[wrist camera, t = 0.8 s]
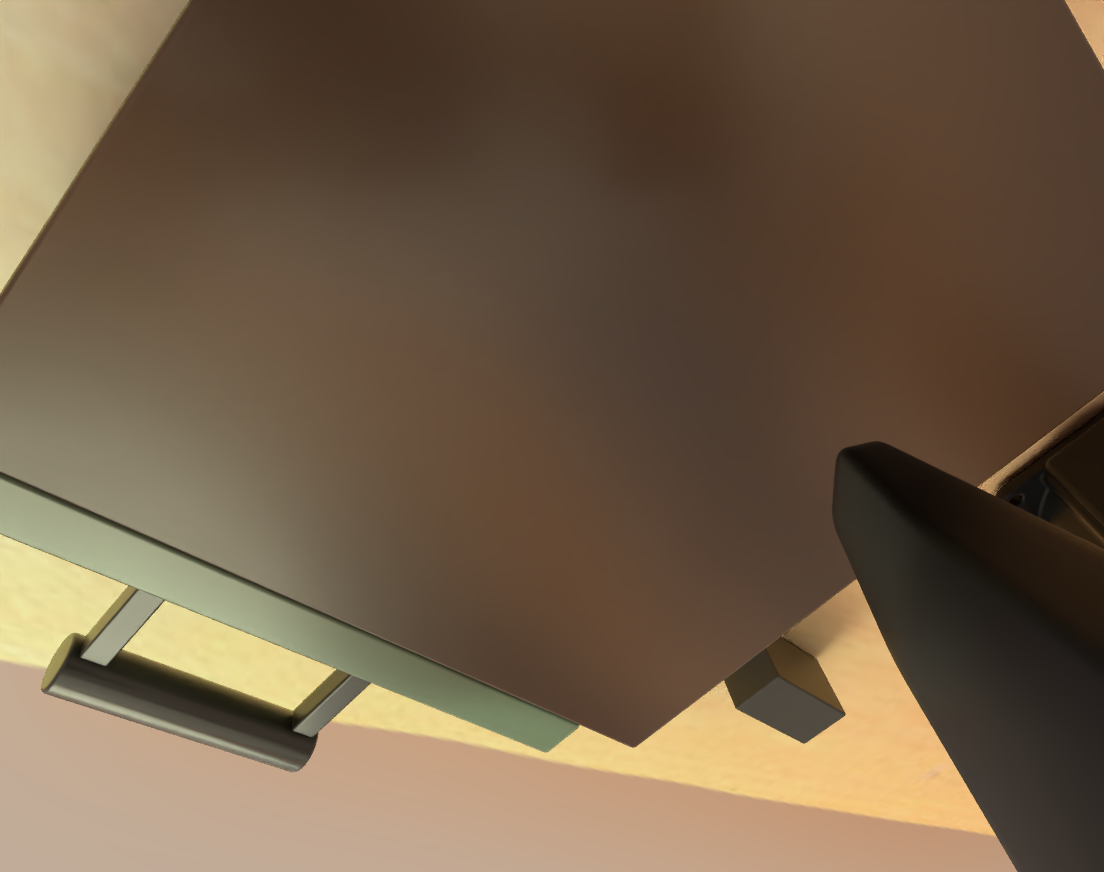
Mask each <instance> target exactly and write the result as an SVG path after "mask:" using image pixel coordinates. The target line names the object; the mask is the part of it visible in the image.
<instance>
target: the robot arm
mask: <svg viewBox="0 0 1104 872" xmlns="http://www.w3.org/2000/svg"><path fill="white" fill-rule="evenodd" d="M832 518H833V523H834V526H835V530H836V532H837V535H838V537H839V539H840V541H841V544H842V546H843V548H844V550H845V553H846V555H847V557H848V559H849V562H850V564H851V566H852V568H853V571H854V573H855V575H856V577H857V580H858V582H859V584H860V587H861V589H862V591H863V593H864V596H865V598H866V600H867V602H868V605H869V607H870V609H871V611H872V614H873V616H874V618H875V620H876V623H877V625H878V627H879V629H880V632H881V634H882V636H883V638H884V641H885V643H886V645H887V647H888V649H889V651H890V653H891V655H892V657H893V659H894V661H895V663H896V665H897V667H898V669H899V671H900V672H901V674H902V676H903V678H904V680H905V681H906V683H907V685H908V687H909V688H910V690H911V692H912V693H913V695H914V697H915V698H916V700H917V702H918V703H919V705H920V707H921V709H922V710H923V712H924V714H925V715H926V717H927V719H928V720H929V722H930V724H931V726H932V727H933V729H934V731H935V732H936V734H937V736H938V737H939V739H940V741H941V743H942V744H943V746H944V748H945V749H946V751H947V753H948V754H949V756H950V758H951V759H952V761H953V763H954V765H955V766H956V768H957V770H958V771H959V773H960V775H961V776H962V778H963V780H964V782H965V783H966V785H967V787H968V788H969V790H970V792H971V793H972V795H973V797H974V799H975V800H976V802H977V804H978V805H979V807H980V809H981V810H982V812H983V814H984V816H985V817H986V819H987V821H988V822H989V824H990V826H991V827H992V829H993V831H994V832H995V834H996V836H997V838H998V839H999V841H1000V843H1001V844H1002V846H1003V848H1004V849H1005V851H1006V853H1007V855H1008V856H1009V858H1010V860H1011V861H1012V863H1013V865H1014V866H1015V868H1016V870H1017V871H1018V872H1104V411H1103V412H1101V413H1100V414H1099V415H1097V416H1096V417H1095V418H1093V419H1092V420H1091V421H1089V422H1088V423H1087V424H1085V425H1084V426H1083V427H1081V428H1080V429H1079V430H1077V431H1076V432H1075V433H1074V434H1072V435H1071V436H1070V437H1068V438H1067V439H1066V440H1064V441H1063V442H1062V443H1060V444H1059V445H1058V446H1056V447H1055V448H1054V449H1052V450H1051V451H1050V452H1048V453H1047V454H1046V455H1044V456H1043V457H1042V458H1040V459H1039V460H1038V461H1036V462H1035V463H1034V464H1032V465H1031V466H1030V467H1028V468H1027V469H1026V470H1024V471H1023V472H1022V473H1020V474H1019V475H1018V476H1016V477H1015V478H1014V479H1012V480H1011V481H1010V482H1008V483H1007V484H1006V485H1004V486H1003V487H1002V488H1001V489H1000V490H999V491H998V492H997V494H996V496H994V495H992V494H990V493H988V492H985V491H983V490H981V489H979V488H977V487H975V486H973V485H971V484H969V483H967V482H965V481H963V480H961V479H959V478H957V477H955V476H953V475H951V474H949V473H947V472H944V471H942V470H940V469H938V468H936V467H934V466H932V465H930V464H928V463H926V462H924V461H922V460H920V459H918V458H916V457H914V456H912V455H910V454H908V453H905V452H903V451H901V450H899V449H897V448H895V447H893V446H891V445H889V444H887V443H884V442H881V441H872V442H868V443H863V444H859V445H854V446H850V447H846V448H844V449H842V450H841V451H840V452H839V453H838V455H837V458H836V464H835V476H834V488H833V500H832Z"/></svg>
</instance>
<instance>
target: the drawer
mask: <svg viewBox="0 0 1104 872" xmlns="http://www.w3.org/2000/svg"><path fill="white" fill-rule="evenodd" d="M0 534H1V535H4V536H6V537H9V538H11V539H14V540H16V541H19V542H21V543H24V544H26V545H29V546H31V547H34V548H36V549H39V550H41V551H44V552H46V553H49V554H51V555H54V556H56V557H59V558H61V559H64V560H66V561H69V562H71V563H73V564H76V565H78V566H81V567H83V568H86V569H88V570H91V571H93V572H96V573H98V574H101V575H103V576H106V577H108V578H111V579H113V580H116V581H118V582H121V583H123V584H126V585H128V587H127V588H126V589H125V591H124V592H123V593H122V594H121V595H120V597H119V598H118V599H117V600H116V601H115V602H114V604H113V605H112V606H111V607H110V608H109V609H108V611H107V612H106V613H105V614H104V615H103V617H102V618H101V619H100V620H99V621H98V622H97V624H96V625H95V626H94V627H93V628H92V629H91V631H90V632H89V633H88V634H87V635H86V636H84V635H81V634H78V633H72V634H70V635H69V636H68V637H67V638H66V639H65V640H64V641H63V643H62V644H61V645H60V647H59V648H58V650H57V651H56V653H55V655H54V656H53V658H52V660H51V662H50V664H49V666H48V668H47V670H46V672H45V675H44V678H43V681H42V686H41V690H42V692H44V693H45V694H48V695H51V696H54V697H57V698H60V699H64V700H67V701H70V702H73V703H76V704H79V705H83V706H86V707H89V708H92V709H95V710H98V711H101V712H105V713H108V714H111V715H114V716H117V717H120V718H123V719H126V720H129V721H133V722H136V723H139V724H142V725H145V726H148V727H151V728H155V729H158V730H161V731H164V732H167V733H170V734H173V735H177V736H180V737H183V738H186V739H189V740H192V741H195V742H199V743H202V744H205V745H208V746H211V747H214V748H218V749H221V750H224V751H227V752H230V753H233V754H236V755H240V756H242V757H246V758H249V759H252V760H255V761H258V762H262V763H265V764H268V765H271V766H274V767H278V768H280V769H283V770H286V771H290V772H296V771H299V770H300V769H301V768H302V767H304V766H305V764H306V763H307V762H308V760H309V759H310V757H311V755H312V753H313V751H314V748H315V746H316V742H317V738H318V732H319V731H320V730H321V729H322V728H323V727H324V726H325V725H326V724H328V723H329V722H330V721H331V720H332V719H333V718H334V717H335V716H336V715H337V714H338V713H339V712H340V711H341V710H343V709H344V708H345V707H346V706H347V705H348V704H349V703H350V702H351V701H352V700H353V699H354V698H355V697H357V696H358V695H359V694H360V693H361V692H362V691H363V690H364V689H365V688H366V687H367V686H368V685H369V684H370V683H373V684H375V685H378V686H380V687H383V688H385V689H388V690H390V691H393V692H395V693H398V694H400V695H403V696H405V697H408V698H410V699H413V700H415V701H418V702H420V703H423V704H425V705H428V706H430V707H433V708H435V709H438V710H440V711H443V712H445V713H448V714H450V715H453V716H455V717H458V718H460V719H463V720H465V721H468V722H470V723H473V724H475V725H478V726H480V727H483V728H485V729H488V730H490V731H493V732H495V733H498V734H500V735H503V736H505V737H508V738H510V739H513V740H515V741H518V742H520V743H523V744H525V745H528V746H530V747H533V748H535V749H538V750H540V751H543V752H548V751H550V750H551V749H552V748H553V747H555V746H556V745H557V744H558V743H560V742H561V741H562V740H563V739H565V738H566V737H567V736H568V735H570V734H571V733H572V732H573V731H575V730H576V729H577V728H578V727H579V724H577V723H575V722H572V721H570V720H568V719H566V718H563V717H561V716H559V715H556V714H554V713H552V712H550V711H547V710H545V709H543V708H540V707H538V706H536V705H533V704H531V703H529V702H527V701H524V700H522V699H520V698H517V697H515V696H513V695H511V694H508V693H506V692H504V691H501V690H499V689H497V688H494V687H492V686H490V685H488V684H485V683H483V682H481V681H478V680H476V679H474V678H472V677H469V676H467V675H465V674H462V673H460V672H458V671H455V670H453V669H451V668H449V667H446V666H444V665H442V664H439V663H437V662H435V661H433V660H430V659H428V658H426V657H423V656H421V655H419V654H416V653H414V652H412V651H410V650H407V649H405V648H403V647H400V646H398V645H396V644H394V643H391V642H389V641H387V640H384V639H382V638H380V637H377V636H375V635H373V634H371V633H368V632H366V631H364V630H361V629H359V628H357V627H355V626H352V625H350V624H348V623H345V622H343V621H341V620H338V619H336V618H334V617H332V616H329V615H327V614H325V613H322V612H320V611H318V610H316V609H313V608H311V607H309V606H306V605H304V604H302V603H299V602H297V601H295V600H293V599H290V598H288V597H286V596H283V595H281V594H279V593H277V592H274V591H272V590H270V589H267V588H265V587H263V586H260V585H258V584H256V583H254V582H251V581H249V580H247V579H244V578H242V577H240V576H238V575H235V574H233V573H231V572H228V571H226V570H224V569H221V568H219V567H217V566H215V565H212V564H210V563H208V562H205V561H203V560H201V559H199V558H196V557H194V556H192V555H189V554H187V553H185V552H182V551H180V550H178V549H176V548H173V547H171V546H169V545H166V544H164V543H162V542H160V541H157V540H155V539H153V538H150V537H148V536H146V535H143V534H141V533H139V532H137V531H134V530H132V529H130V528H127V527H125V526H123V525H121V524H118V523H116V522H114V521H111V520H109V519H107V518H104V517H102V516H100V515H98V514H95V513H93V512H91V511H88V510H86V509H84V508H82V507H79V506H77V505H75V504H72V503H70V502H68V501H65V500H63V499H61V498H59V497H56V496H54V495H52V494H49V493H47V492H45V491H43V490H40V489H38V488H36V487H33V486H31V485H29V484H26V483H24V482H22V481H20V480H17V479H15V478H13V477H10V476H8V475H6V474H4V473H1V472H0ZM165 600H166V601H168V602H171V603H173V604H176V605H178V606H181V607H183V608H186V609H188V610H191V611H193V612H196V613H198V614H201V615H203V616H206V617H208V618H211V619H213V620H216V621H218V622H221V623H223V624H226V625H228V626H231V627H233V628H236V629H238V630H241V631H243V632H246V633H248V634H251V635H253V636H256V637H258V638H261V639H263V640H266V641H268V642H271V643H273V644H276V645H278V646H281V647H283V648H286V649H288V650H291V651H293V652H296V653H298V654H301V655H303V656H306V657H308V658H311V659H313V660H316V661H318V662H321V663H323V664H326V665H328V666H331V667H333V668H335V669H336V670H335V671H334V672H333V673H332V674H331V675H330V676H329V677H328V678H327V679H326V680H325V681H324V682H323V683H322V684H321V685H320V686H319V687H317V688H316V689H315V690H314V691H313V692H312V693H311V694H310V695H309V696H308V697H307V698H306V699H305V700H304V701H303V702H302V703H301V704H300V705H299V706H298V707H297V708H296V709H295V710H294V711H292V710H289V709H286V708H283V707H281V706H278V705H275V704H272V703H270V702H267V701H264V700H261V699H258V698H256V697H253V696H250V695H247V694H245V693H242V692H239V691H236V690H233V689H231V688H228V687H225V686H222V685H220V684H217V683H214V682H211V681H209V680H206V679H203V678H200V677H197V676H195V675H192V674H189V673H186V672H184V671H181V670H178V669H175V668H172V667H170V666H167V665H164V664H161V663H159V662H156V661H153V660H150V659H147V658H145V657H142V656H139V655H136V654H134V653H131V652H128V651H125V650H122V648H123V647H124V646H125V645H126V644H127V643H128V642H129V641H130V639H131V638H132V637H133V636H134V635H135V634H136V633H137V631H138V630H139V629H140V628H141V627H142V626H143V625H144V624H145V622H146V621H147V620H148V619H149V618H150V617H151V616H152V614H153V613H154V612H155V611H156V610H157V609H158V608H159V606H160V605H161V604H162V603H163V602H164V601H165Z"/></svg>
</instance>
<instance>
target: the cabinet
mask: <svg viewBox="0 0 1104 872" xmlns="http://www.w3.org/2000/svg"><path fill="white" fill-rule="evenodd" d="M1103 391H1104V69H1103V68H1102V66H1101V64H1100V62H1099V60H1098V59H1097V57H1096V55H1095V53H1094V52H1093V50H1092V48H1091V46H1090V45H1089V43H1088V41H1087V39H1086V37H1085V36H1084V34H1083V32H1082V30H1081V29H1080V27H1079V25H1078V23H1077V22H1076V20H1075V18H1074V16H1073V14H1072V13H1071V11H1070V9H1069V7H1068V6H1067V4H1066V2H1065V0H189V2H188V3H187V5H186V6H185V8H184V9H183V11H182V12H181V14H180V16H179V17H178V19H177V20H176V22H175V23H174V25H173V26H172V28H171V30H170V31H169V33H168V34H167V36H166V37H165V39H164V40H163V42H162V43H161V45H160V47H159V48H158V50H157V51H156V53H155V54H154V56H153V57H152V59H151V61H150V62H149V64H148V65H147V67H146V68H145V70H144V71H143V73H142V75H141V76H140V78H139V79H138V81H137V82H136V84H135V85H134V87H133V88H132V90H131V92H130V93H129V95H128V96H127V98H126V99H125V101H124V102H123V104H122V106H121V107H120V109H119V110H118V112H117V113H116V115H115V116H114V118H113V119H112V121H111V123H110V124H109V126H108V127H107V129H106V130H105V132H104V133H103V135H102V137H101V138H100V140H99V141H98V143H97V144H96V146H95V147H94V149H93V150H92V152H91V154H90V155H89V157H88V158H87V160H86V161H85V163H84V164H83V166H82V168H81V169H80V171H79V172H78V174H77V175H76V177H75V178H74V180H73V181H72V183H71V185H70V186H69V188H68V189H67V191H66V192H65V194H64V195H63V197H62V199H61V200H60V202H59V203H58V205H57V206H56V208H55V209H54V211H53V212H52V214H51V216H50V217H49V219H48V220H47V222H46V223H45V225H44V226H43V228H42V230H41V231H40V233H39V234H38V236H37V237H36V239H35V240H34V242H33V243H32V245H31V247H30V248H29V250H28V251H27V253H26V254H25V256H24V257H23V259H22V261H21V262H20V264H19V265H18V267H17V268H16V270H15V271H14V273H13V274H12V276H11V278H10V279H9V281H8V282H7V284H6V285H5V287H4V288H3V290H2V292H1V293H0V472H1V473H4V474H6V475H8V476H10V477H13V478H15V479H17V480H20V481H22V482H24V483H26V484H29V485H31V486H33V487H36V488H38V489H40V490H43V491H45V492H47V493H49V494H52V495H54V496H56V497H59V498H61V499H63V500H65V501H68V502H70V503H72V504H75V505H77V506H79V507H82V508H84V509H86V510H88V511H91V512H93V513H95V514H98V515H100V516H102V517H104V518H107V519H109V520H111V521H114V522H116V523H118V524H121V525H123V526H125V527H127V528H130V529H132V530H134V531H137V532H139V533H141V534H143V535H146V536H148V537H150V538H153V539H155V540H157V541H160V542H162V543H164V544H166V545H169V546H171V547H173V548H176V549H178V550H180V551H182V552H185V553H187V554H189V555H192V556H194V557H196V558H199V559H201V560H203V561H205V562H208V563H210V564H212V565H215V566H217V567H219V568H221V569H224V570H226V571H228V572H231V573H233V574H235V575H238V576H240V577H242V578H244V579H247V580H249V581H251V582H254V583H256V584H258V585H260V586H263V587H265V588H267V589H270V590H272V591H274V592H277V593H279V594H281V595H283V596H286V597H288V598H290V599H293V600H295V601H297V602H299V603H302V604H304V605H306V606H309V607H311V608H313V609H316V610H318V611H320V612H322V613H325V614H327V615H329V616H332V617H334V618H336V619H338V620H341V621H343V622H345V623H348V624H350V625H352V626H355V627H357V628H359V629H361V630H364V631H366V632H368V633H371V634H373V635H375V636H377V637H380V638H382V639H384V640H387V641H389V642H391V643H394V644H396V645H398V646H400V647H403V648H405V649H407V650H410V651H412V652H414V653H416V654H419V655H421V656H423V657H426V658H428V659H430V660H433V661H435V662H437V663H439V664H442V665H444V666H446V667H449V668H451V669H453V670H455V671H458V672H460V673H462V674H465V675H467V676H469V677H472V678H474V679H476V680H478V681H481V682H483V683H485V684H488V685H490V686H492V687H494V688H497V689H499V690H501V691H504V692H506V693H508V694H511V695H513V696H515V697H517V698H520V699H522V700H524V701H527V702H529V703H531V704H533V705H536V706H538V707H540V708H543V709H545V710H547V711H550V712H552V713H554V714H556V715H559V716H561V717H563V718H566V719H568V720H570V721H572V722H575V723H577V724H579V725H582V726H584V727H586V728H589V729H591V730H593V731H595V732H598V733H600V734H602V735H605V736H607V737H609V738H611V739H614V740H616V741H618V742H621V743H623V744H625V745H628V746H630V747H636V746H638V745H639V744H640V743H642V742H643V741H644V740H646V739H647V738H648V737H649V736H651V735H652V734H653V733H655V732H656V731H657V730H659V729H660V728H661V727H663V726H664V725H665V724H667V723H668V722H669V721H670V720H672V719H673V718H674V717H676V716H677V715H678V714H680V713H681V712H682V711H684V710H685V709H686V708H688V707H689V706H690V705H692V704H693V703H694V702H695V701H697V700H698V699H699V698H701V697H702V696H703V695H705V694H706V693H707V692H709V691H710V690H711V689H713V688H714V687H715V686H716V685H718V684H719V683H720V682H722V681H723V680H724V679H726V678H727V677H728V676H730V675H731V674H732V673H734V672H735V671H736V670H738V669H739V668H740V667H741V666H743V665H744V664H745V663H747V662H748V661H749V660H751V659H752V658H753V657H755V656H756V655H757V654H759V653H760V652H761V651H762V650H764V649H765V648H766V647H768V646H769V645H770V644H772V643H773V642H774V641H776V640H777V639H778V638H780V637H781V636H782V635H783V634H785V633H786V632H787V631H789V630H790V629H791V628H793V627H794V626H795V625H797V624H798V623H799V622H801V621H802V620H803V619H805V618H806V617H807V616H808V615H810V614H811V613H812V612H814V611H815V610H816V609H818V608H819V607H820V606H822V605H823V604H824V603H826V602H827V601H828V600H829V599H831V598H832V597H833V596H835V595H836V594H837V593H839V592H840V591H841V590H843V589H844V588H845V587H847V586H848V585H849V584H851V583H852V582H853V581H854V580H856V579H857V577H856V575H855V573H854V571H853V568H852V566H851V564H850V562H849V559H848V557H847V555H846V553H845V550H844V548H843V546H842V544H841V541H840V539H839V537H838V535H837V532H836V530H835V526H834V523H833V518H832V500H833V488H834V476H835V464H836V458H837V455H838V453H839V452H840V451H841V450H842V449H844V448H846V447H850V446H854V445H859V444H863V443H868V442H872V441H881V442H884V443H887V444H889V445H891V446H893V447H895V448H897V449H899V450H901V451H903V452H905V453H908V454H910V455H912V456H914V457H916V458H918V459H920V460H922V461H924V462H926V463H928V464H930V465H932V466H934V467H936V468H938V469H940V470H942V471H944V472H947V473H949V474H951V475H953V476H955V477H957V478H959V479H961V480H963V481H965V482H967V483H969V484H971V485H973V486H975V487H978V486H979V485H981V484H982V483H983V482H985V481H986V480H987V479H988V478H990V477H991V476H992V475H994V474H995V473H996V472H998V471H999V470H1000V469H1002V468H1003V467H1004V466H1006V465H1007V464H1008V463H1010V462H1011V461H1012V460H1013V459H1015V458H1016V457H1017V456H1019V455H1020V454H1021V453H1023V452H1024V451H1025V450H1027V449H1028V448H1029V447H1031V446H1032V445H1033V444H1034V443H1036V442H1037V441H1038V440H1040V439H1041V438H1042V437H1044V436H1045V435H1046V434H1048V433H1049V432H1050V431H1052V430H1053V429H1054V428H1056V427H1057V426H1058V425H1059V424H1061V423H1062V422H1063V421H1065V420H1066V419H1067V418H1069V417H1070V416H1071V415H1073V414H1074V413H1075V412H1077V411H1078V410H1079V409H1080V408H1082V407H1083V406H1084V405H1086V404H1087V403H1088V402H1090V401H1091V400H1092V399H1094V398H1095V397H1096V396H1098V395H1099V394H1100V393H1101V392H1103Z"/></svg>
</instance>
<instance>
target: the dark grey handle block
mask: <svg viewBox="0 0 1104 872" xmlns="http://www.w3.org/2000/svg"><path fill="white" fill-rule="evenodd" d="M724 681H725V684H726V686H727V688H728V691H729V693H730V696H731V698H732V700H733V703H734V705H735V708H736V709H738V710H740V711H741V712H743V713H745V714H747V715H749V716H751V717H753V718H755V719H757V720H759V721H761V722H763V723H765V724H767V725H769V726H771V727H772V728H774V729H776V730H778V731H780V732H782V733H784V734H786V735H788V736H790V737H792V738H794V739H796V740H798V741H800V742H801V743H803V744H804V743H807V742H808V741H809V740H811V739H812V738H814V737H815V736H817V735H818V734H819V733H821V732H822V731H824V730H825V729H827V728H828V727H829V726H831V725H832V724H834V723H835V722H837V721H838V720H839V719H841V718H842V717H844V716H845V715H846V714H845V712H844V710H843V708H842V706H841V704H840V702H839V700H838V699H837V697H836V695H835V693H834V691H833V689H832V687H831V685H830V684H829V682H828V680H827V678H826V676H825V674H824V672H823V670H822V668H821V667H820V665H819V663H818V661H817V659H815V658H814V657H812V656H810V655H809V654H807V653H806V652H804V651H802V650H801V649H799V648H797V647H796V646H794V645H792V644H791V643H789V642H788V641H786V640H784V639H783V638H781V637H780V638H778V639H777V640H776V641H774V642H773V643H772V644H770V645H769V646H768V647H766V648H765V649H764V650H762V651H761V652H760V653H759V654H757V655H756V656H755V657H753V658H752V659H751V660H749V661H748V662H747V663H745V664H744V665H743V666H741V667H740V668H739V669H738V670H736V671H735V672H734V673H732V674H731V675H730V676H728V677H727V678H726V679H724Z"/></svg>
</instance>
